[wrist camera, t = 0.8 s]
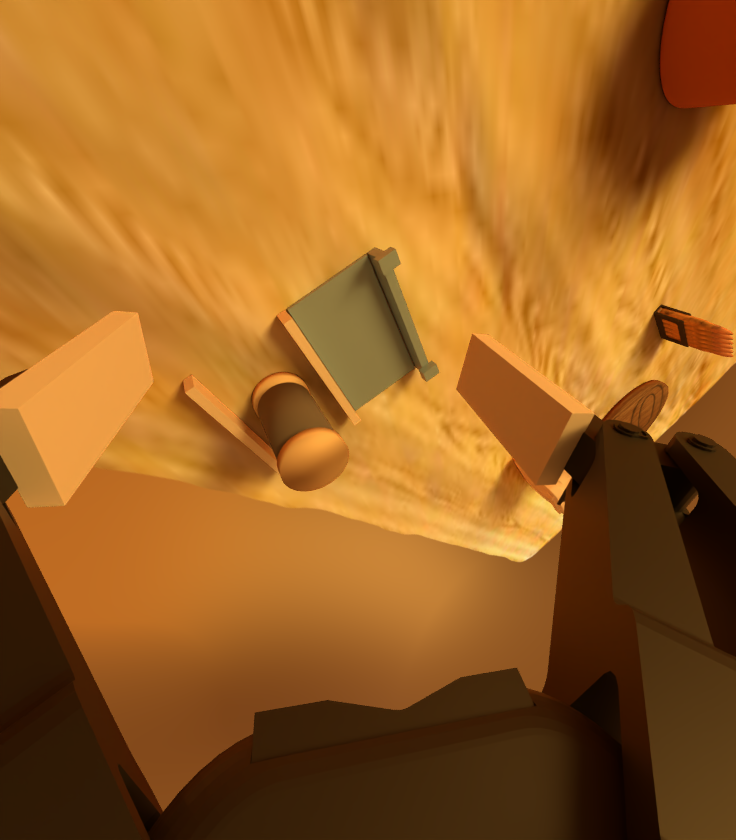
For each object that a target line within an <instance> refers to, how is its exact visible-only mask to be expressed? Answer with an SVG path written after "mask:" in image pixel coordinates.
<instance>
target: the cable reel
mask: <svg viewBox="0 0 736 840" xmlns="http://www.w3.org/2000/svg"><path fill="white" fill-rule="evenodd" d="M252 405H253V408H254V411H255V413H256V415H257V417H258V418H259V419H260V420H261V423H262V425H263V428H264V430H265V433H266V435H267V437H268V440H269V442H270V445H271V447H272V450H273V452H274V455H275V457H276V460H277V468H278V471H279V473H280V476H281V478H282V481H283V482H284V484H285V485H286V486H288V487H289V488H291V489H293V490H296V491H312V490H316V489H319V488H322V487H324V486H326V485H328V484H330V483H331V482H333V481H334V480H335V479H336V478H337V477H338V476H339V475H340V474H341V473H342V472H343V470H344V469H345V467H346V465H347V463H348V459H349V451H348V447H347V445H346V444H345V442H344V441H343V439H342V438H341V436H340V435H339V434H338V433H337V432H336V431H334V430H333V428H332V427H331V425H330V423H329V422H328V420H327V419H326V417H325V416H324V414H323V413H322V411H321V410H320V408H319V407H318V405H317V404H316V402H315V401H314V399H313V398H312V396H311V393H310V390H309V388H308V387H307V385H306V384H305V382H304V381H303V380H302V379H301V378H300V377H299V376H297V375H295V374H293V373H289V372H278V373H274V374H271V375H269V376H267V377H265V378H264V379H262V380H261V381H260V382H259V383H258V384H257V386H256V387H255V389H254V391H253V394H252Z"/></svg>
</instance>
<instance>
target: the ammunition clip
mask: <svg viewBox="0 0 736 840" xmlns="http://www.w3.org/2000/svg"><path fill="white" fill-rule="evenodd" d="M654 316H655V319H656V323H657V326H658V329H659V333H660V336H661V338H663V339H666V340H668V341H671V342H674V343H677V344H680V345H683V346H686V347H688V346H690V347H693V348H696V349H699V350H702V351H706V352H710V353H714V354H717V355H720V356H725V357H733V355H732V354H731V353H733V351H732V350H731V349H733V347H732V346H731V345H730V344H733V342H731V341H730V340H733V338H732V337H731V336H730V335H733V333H732V332H731V331H729V330H727V329H726V328H723V327H721V326H718V325H715V324H712V323H710V322H708V321H706V320H703V319H700V318H696V317H693V316H691V314H689V313H686V312H683V311H680V310H677V309H674V308H670V307H667V306H664V305H660V306H659V307H658V309H657V310H656V311H655V312H654Z"/></svg>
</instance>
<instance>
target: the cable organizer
mask: <svg viewBox="0 0 736 840" xmlns="http://www.w3.org/2000/svg"><path fill="white" fill-rule="evenodd" d="M514 462H515V464H516V466H517V467H518V469H519V470H520V472H521V473H522V475H523V476H524V478H525V479H526V481H527V482H528V483H529V484H530V485H531V486H532V487H533V488H534V490H535V491H536V492H538V493H539V494H540V495H541V496H542V497H543V498H544V499H546V500H548V501H549V502H550V503H551V504H552V505H553V507H554V508H555V510H556V511H557V512H558V513H559V514H561V513H563V514H564V505H565V502H562V504H561V505H558V504H557V502H558V501H559V499H560V497H561V495H562V494H563V492H564V490H565V489H566V487H567V485H568V483H569V482H570V480H571V478H572V477H571V476H570V475H569V474H568V473H567V472H566V471H565V470H564V471H563V473H562V474H561V476H560V478H559V480H558V482H557V484H556V485H535V484H534V483H533V482H532V480H531V479H530V478H529V477H528V475H527V474H526V473H525V472H524V471H523V469H522V468H521V467H520V466H519V465H518V463H517V462H516V461H514Z"/></svg>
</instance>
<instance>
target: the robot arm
mask: <svg viewBox="0 0 736 840" xmlns="http://www.w3.org/2000/svg"><path fill="white" fill-rule="evenodd" d="M153 382H154V381H153V377H152V372H151V368H150V364H149V359H148V355H147V351H146V346H145V342H144V338H143V333H142V329H141V325H140V320H139V316H138V313H137V312H121V311H113V312H111V313H110V314H108V315H107V316H105V317H104V318H102V319H101V320H99V321H98V322H97V323H95V324H94V325H92V326H91V327H89V328H88V329H86V330H85V331H83V332H82V333H80V334H79V335H78V336H76V337H75V338H73V339H72V340H70V341H69V342H67V343H66V344H64V345H63V346H61V347H60V348H59V349H57V350H56V351H54V352H53V353H51V354H50V355H48V356H47V357H45V358H44V359H42V360H41V361H40V362H38V363H37V364H35V365H34V366H32V367H31V368H29V369H27V370H24V371H21V372H19V373H16V374H13V375H11V376H8V377H6V378H4V379H3V380H1V381H0V840H736V459H735V458H734V457H733V456H732V455H731V454H730V453H729V452H728V451H727V450H726V449H724V448H723V447H722V446H720V445H719V444H717V443H715V442H714V441H713V440H712V439H710V438H708V437H705V436H702V435H699V434H698V435H695V434H692V433H687V432H677V433H676V434H675V435H674V437H673V438H672V439H671V441H670V442H669V443H668V445H666V444H660V443H655V442H654V441H653V439H652V437H651V436H650V435H649V434H648V433H647V432H646V431H644V430H642V429H640V428H639V427H637V426H636V425H633V424H631V423H628V422H623V421H619V420H610V419H609V420H605V421H602V420H601V419H600V418H598V417H597V416H596V415H595V413H594V412H592V411H591V410H589V409H588V408H587V407H585V406H584V405H583V404H581V403H580V402H579V401H577V400H576V399H575V398H573V397H572V396H571V395H569V394H568V393H566V392H565V391H564V390H562V389H561V388H560V387H558V386H557V385H556V384H554V383H553V382H552V381H550V380H549V379H548V378H546V377H545V376H543V375H542V374H541V373H539V372H538V371H537V370H535V369H534V368H533V367H531V366H530V365H529V364H527V363H526V362H525V361H523V360H522V359H520V358H519V357H518V356H516V355H515V354H514V353H512V352H511V351H510V350H508V349H507V348H506V347H504V346H503V345H502V344H500V343H499V342H497V341H496V340H495V339H493V338H492V337H491V336H489V335H488V334H472V336H471V340H470V343H469V347H468V350H467V354H466V357H465V361H464V364H463V368H462V371H461V375H460V378H459V382H458V385H457V388H456V389H457V391H458V392H459V393H460V394H461V395H462V397H463V398H464V399H465V400H466V402H467V403H468V404H469V405H470V406H471V408H472V409H473V410H474V411H475V412H476V414H477V415H478V416H479V417H480V418H481V420H482V421H483V422H484V423H485V425H486V426H487V427H488V428H489V429H490V431H491V432H492V433H493V434H494V435H495V437H496V438H497V439H498V440H499V442H500V443H501V444H502V445H503V446H504V448H505V449H506V450H507V451H508V452H509V454H510V455H511V456H512V457H513V459H514V460H515V461H516V462H517V463H518V465H519V466H520V467H521V468H522V469H523V471H524V472H525V473H526V474H527V475H528V477H529V478H530V479H531V480H532V482H533V483H534V484H535V485H556V484H557V482H558V480H559V478H560V476H561V474H562V473H563V471H564V470H565V471H566V472H567V473H568V474H569V475H570V476H571V477H572V478H571V480H570V482H569V483H568V485H567V487H566V489H565V490H564V492H563V494H562V495H561V497H560V499H559V501H558V502H557V504H558V505H561V504H562V502H565V505H564V515H563V525H562V535H561V546H560V555H559V565H558V575H557V585H556V595H555V605H554V615H553V625H552V635H551V645H550V655H549V665H548V673H547V679H546V682H545V686H544V688H543V691H542V693H541V692H538V691H535V690H531V689H528V688H526V686H525V684H524V682H523V680H522V678H521V676H520V674H519V672H518V670H517V668H513V669H507V670H501V671H495V672H489V673H483V674H477V675H472V676H466V677H461V678H459V679H457V680H455V681H453V682H452V683H450V684H448V685H446V686H445V687H443V688H441V689H440V690H438V691H436V692H434V693H433V694H431V695H429V696H427V697H426V698H424V699H422V700H420V701H419V702H417V703H415V704H413V705H412V706H410V707H408V708H406V709H403V710H390V709H383V708H376V707H370V706H363V705H357V704H349V703H342V702H336V701H329V700H326V701H320V702H315V703H309V704H303V705H297V706H292V707H285V708H279V709H274V710H268V711H262V712H256V713H255V718H254V732H253V734H252V735H250V736H248V737H246V738H244V739H242V740H240V741H239V742H237V743H235V744H234V745H232V746H231V747H229V748H228V749H227V750H225V751H224V752H222V753H221V754H219V755H218V756H217V757H216V758H214V759H213V760H212V761H211V762H210V763H209V764H208V765H206V766H205V767H204V768H203V769H201V770H200V771H199V772H198V773H197V774H196V775H195V776H194V777H193V778H192V780H190V781H189V783H188V784H187V785H186V786H185V787H184V788H183V789H182V790H181V791H180V792H179V793H178V794H177V796H176V797H175V798H174V799H173V800H172V802H171V803H170V804H169V806H168V807H167V808H166V809H165V810H164V812H163V811H162V809H161V807H160V805H159V803H158V801H157V799H156V797H155V795H154V793H153V791H152V789H151V788H150V786H149V784H148V782H147V780H146V778H145V777H144V775H143V773H142V772H141V770H140V768H139V766H138V765H137V763H136V761H135V759H134V757H133V756H132V754H131V752H130V750H129V748H128V746H127V744H126V742H125V740H124V738H123V736H122V734H121V732H120V730H119V728H118V726H117V724H116V722H115V720H114V718H113V716H112V714H111V712H110V710H109V708H108V706H107V704H106V702H105V700H104V698H103V696H102V694H101V692H100V690H99V688H98V686H97V684H96V682H95V680H94V678H93V676H92V674H91V672H90V669H89V668H88V666H87V663H86V661H85V660H84V657H83V655H82V654H81V652H80V649H79V647H78V645H77V644H76V641H75V639H74V637H73V636H72V633H71V632H70V630H69V627H68V625H67V624H66V621H65V619H64V617H63V615H62V613H61V611H60V609H59V607H58V605H57V603H56V601H55V599H54V597H53V595H52V593H51V591H50V589H49V587H48V585H47V583H46V581H45V579H44V577H43V575H42V573H41V571H40V569H39V567H38V565H37V563H36V561H35V559H34V557H33V555H32V553H31V551H30V549H29V547H28V545H27V543H26V541H25V539H24V537H23V535H22V533H21V531H20V529H19V527H18V525H17V523H16V521H15V519H14V517H13V515H12V513H11V511H10V509H9V508H8V506H7V504H6V503H5V502H6V501H7V499H8V498H9V497H10V496H11V495H12V494H13V493H14V492H15V491H16V490H18V492H19V493H20V495H21V497H22V499H23V500H24V502H25V504H26V506H27V507H47V506H65V505H66V504H67V502H68V501H69V499H70V498H71V496H72V495H73V494H74V492H75V491H76V489H77V488H78V487H79V485H80V484H81V483H82V481H83V480H84V478H85V477H86V475H87V474H88V473H89V471H90V470H91V469H92V467H93V466H94V464H95V463H96V462H97V460H98V459H99V457H100V456H101V455H102V453H103V452H104V450H105V449H106V448H107V446H108V445H109V443H110V442H111V441H112V439H113V438H114V436H115V435H116V434H117V432H118V431H119V429H120V428H121V427H122V425H123V424H124V423H125V421H126V420H127V418H128V417H129V416H130V414H131V413H132V411H133V410H134V409H135V407H136V406H137V404H138V403H139V402H140V400H141V399H142V397H143V396H144V395H145V393H146V392H147V390H148V389H149V388H150V386H151V385H152V383H153ZM697 495H698V497H699V499H698V503H697V505H696V507H695V508H694V509H693V510H692V511H691V513H689V512H688V510H687V509H686V507H687V506H688V505H689V504H690V503H691V502H692V500H693V499H694V498H695V497H696V496H697Z"/></svg>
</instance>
